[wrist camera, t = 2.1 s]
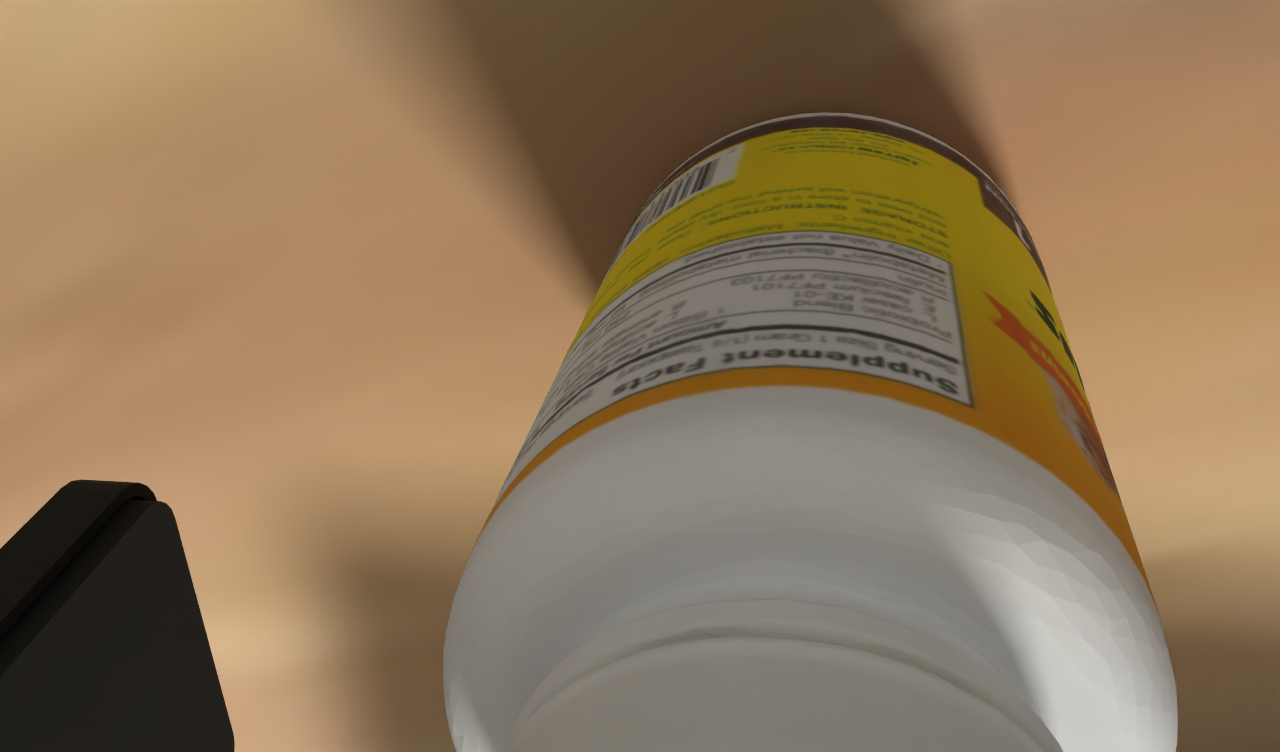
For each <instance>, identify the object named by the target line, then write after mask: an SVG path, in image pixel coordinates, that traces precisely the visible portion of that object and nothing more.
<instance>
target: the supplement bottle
mask: <svg viewBox="0 0 1280 752" xmlns="http://www.w3.org/2000/svg"><path fill="white" fill-rule="evenodd" d="M443 687H444V699H445V710H446V715H447V720H448V725H449V730H450V734H451V737H452V740H453V744H454V747H455V750H456V752H1176V746H1177V734H1178V710H1177V692H1176V682H1175V677H1174V673H1173V668H1172V664H1171V660H1170V655H1169V651H1168V647H1167V643H1166V639H1165V635H1164V630H1163V626H1162V622H1161V619H1160V616H1159V613H1158V610H1157V607H1156V604H1155V601H1154V598H1153V595H1152V592H1151V589H1150V586H1149V583H1148V580H1147V577H1146V574H1145V571H1144V568H1143V565H1142V562H1141V559H1140V556H1139V553H1138V550H1137V547H1136V544H1135V541H1134V538H1133V535H1132V532H1131V529H1130V526H1129V523H1128V520H1127V517H1126V514H1125V511H1124V508H1123V506H1122V503H1121V499H1120V496H1119V493H1118V490H1117V487H1116V484H1115V481H1114V478H1113V475H1112V472H1111V469H1110V466H1109V463H1108V460H1107V457H1106V454H1105V451H1104V448H1103V444H1102V441H1101V438H1100V435H1099V432H1098V430H1097V427H1096V424H1095V421H1094V417H1093V414H1092V411H1091V408H1090V405H1089V402H1088V399H1087V397H1086V394H1085V390H1084V386H1083V383H1082V380H1081V377H1080V374H1079V371H1078V368H1077V365H1076V362H1075V360H1074V358H1073V355H1072V352H1071V348H1070V345H1069V342H1068V339H1067V336H1066V333H1065V330H1064V327H1063V324H1062V321H1061V318H1060V316H1059V313H1058V310H1057V307H1056V304H1055V301H1054V298H1053V295H1052V291H1051V288H1050V285H1049V281H1048V278H1047V275H1046V272H1045V270H1044V267H1043V265H1042V262H1041V260H1040V257H1039V255H1038V252H1037V250H1036V247H1035V245H1034V243H1033V240H1032V238H1031V236H1030V234H1029V231H1028V229H1027V228H1026V226H1025V224H1024V223H1023V221H1022V219H1021V217H1020V216H1019V214H1018V213H1017V211H1016V209H1015V208H1014V206H1013V205H1012V204H1011V202H1010V201H1009V200H1008V198H1007V197H1006V196H1005V194H1004V193H1003V192H1002V191H1001V189H1000V188H999V187H998V186H997V185H996V184H995V183H994V182H993V181H992V179H991V178H990V177H989V176H988V175H987V174H986V173H985V172H984V171H982V170H981V169H980V168H979V167H978V166H976V165H975V164H974V163H973V162H971V161H970V160H969V159H968V158H966V157H965V156H964V155H962V154H961V153H959V152H958V151H956V150H955V149H953V148H952V147H950V146H948V145H947V144H945V143H944V142H942V141H940V140H938V139H936V138H934V137H932V136H930V135H928V134H926V133H923V132H921V131H919V130H916V129H913V128H911V127H908V126H905V125H902V124H899V123H896V122H893V121H889V120H885V119H881V118H876V117H872V116H865V115H858V114H851V113H826V112H822V113H806V114H797V115H792V116H786V117H780V118H775V119H772V120H768V121H764V122H761V123H757V124H754V125H751V126H749V127H746V128H743V129H740V130H738V131H735V132H733V133H731V134H729V135H727V136H725V137H723V138H721V139H719V140H717V141H715V142H713V143H712V144H710V145H708V146H707V147H705V148H703V149H702V150H701V151H699V152H698V153H696V154H695V155H693V156H692V157H690V158H689V159H688V160H686V161H685V162H684V163H683V164H681V165H680V166H679V167H678V168H677V169H675V170H674V171H673V172H672V173H671V174H670V175H669V176H668V177H667V178H666V179H665V180H664V181H663V182H662V183H661V184H660V185H659V186H658V187H657V189H656V190H655V191H654V192H653V194H652V195H651V196H650V197H649V199H648V200H647V202H646V203H645V205H644V206H643V208H642V209H641V211H640V212H639V214H638V215H637V217H636V218H635V220H634V222H633V223H632V225H631V227H630V228H629V230H628V232H627V233H626V235H625V238H624V240H623V242H622V244H621V246H620V248H619V250H618V252H617V254H616V256H615V257H614V259H613V262H612V264H611V266H610V267H609V269H608V271H607V273H606V275H605V277H604V279H603V282H602V284H601V286H600V288H599V290H598V292H597V294H596V295H595V297H594V299H593V301H592V303H591V305H590V307H589V309H588V311H587V313H586V315H585V318H584V320H583V322H582V324H581V326H580V328H579V330H578V333H577V335H576V337H575V339H574V341H573V342H572V344H571V346H570V348H569V349H568V351H567V354H566V356H565V358H564V361H563V363H562V365H561V367H560V369H559V371H558V373H557V376H556V378H555V380H554V382H553V384H552V386H551V388H550V390H549V392H548V394H547V396H546V398H545V401H544V403H543V405H542V407H541V409H540V411H539V413H538V415H537V417H536V419H535V421H534V423H533V425H532V427H531V429H530V431H529V434H528V436H527V438H526V440H525V442H524V444H523V446H522V448H521V450H520V452H519V454H518V456H517V458H516V460H515V462H514V464H513V466H512V468H511V471H510V473H509V475H508V477H507V478H506V480H505V482H504V484H503V486H502V488H501V491H500V493H499V495H498V498H497V500H496V502H495V504H494V506H493V508H492V510H491V513H490V515H489V517H488V519H487V521H486V523H485V525H484V527H483V529H482V531H481V533H480V535H479V537H478V539H477V541H476V543H475V545H474V547H473V549H472V552H471V554H470V556H469V559H468V561H467V563H466V566H465V569H464V572H463V575H462V578H461V580H460V583H459V585H458V588H457V590H456V593H455V596H454V600H453V604H452V608H451V612H450V616H449V620H448V624H447V628H446V635H445V642H444V649H443Z"/></svg>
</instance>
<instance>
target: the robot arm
mask: <svg viewBox="0 0 1280 752" xmlns="http://www.w3.org/2000/svg"><path fill="white" fill-rule="evenodd" d="M0 752H234V735H233V731H232V727H231V723H230V720H229V716H228V712H227V709H226V705H225V701H224V697H223V694H222V690H221V686H220V683H219V679H218V675H217V672H216V668H215V664H214V660H213V657H212V653H211V649H210V646H209V642H208V638H207V634H206V631H205V627H204V623H203V620H202V616H201V612H200V609H199V605H198V601H197V597H196V594H195V590H194V586H193V583H192V579H191V575H190V572H189V568H188V564H187V560H186V557H185V553H184V549H183V546H182V542H181V538H180V534H179V531H178V527H177V523H176V520H175V517H174V514H173V512H172V509H171V508H170V507H169V506H168V505H167V504H166V503H163V502H161V501H157V500H156V497H155V495H154V493H153V492H152V491H151V490H150V489H149V487H148V486H146V485H143V484H141V483H132V482H114V481H96V480H76V481H71V482H69V483H68V484H67V485H65V486H64V487H62V488H61V489H60V490H59V491H58V492H57V493H56V494H55V495H54V496H53V497H52V498H51V499H50V500H49V501H48V502H47V503H46V504H45V505H44V506H43V507H42V508H41V509H40V510H39V511H38V512H37V513H36V514H35V515H34V516H33V517H32V518H31V519H30V520H29V521H28V522H27V523H26V524H25V525H24V526H23V527H22V528H21V529H20V530H19V531H18V532H17V533H16V534H15V535H14V536H13V537H12V538H11V539H10V540H9V541H8V542H7V543H6V544H5V545H4V546H3V547H2V548H1V549H0Z"/></svg>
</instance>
